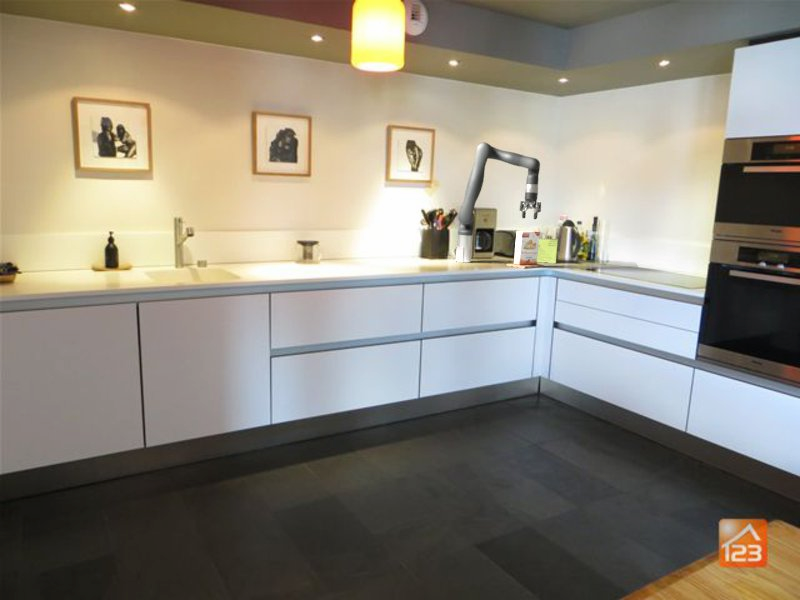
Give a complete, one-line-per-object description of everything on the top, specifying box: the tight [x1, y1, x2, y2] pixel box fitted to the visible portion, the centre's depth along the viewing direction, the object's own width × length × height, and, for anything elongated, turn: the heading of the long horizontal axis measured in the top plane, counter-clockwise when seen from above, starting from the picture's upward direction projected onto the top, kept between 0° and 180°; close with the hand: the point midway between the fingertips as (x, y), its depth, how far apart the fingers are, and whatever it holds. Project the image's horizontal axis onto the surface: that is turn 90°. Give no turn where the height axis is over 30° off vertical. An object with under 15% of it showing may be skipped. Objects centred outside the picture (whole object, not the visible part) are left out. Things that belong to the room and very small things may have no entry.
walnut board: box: [505, 262, 545, 269], centre depth 361 cm, size 20×14×1 cm
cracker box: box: [513, 230, 541, 265], centre depth 359 cm, size 14×6×21 cm, turn 117°
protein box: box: [537, 237, 559, 264], centre depth 392 cm, size 10×15×16 cm
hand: (529, 218), depth 356 cm, fingers open, 8 cm apart
